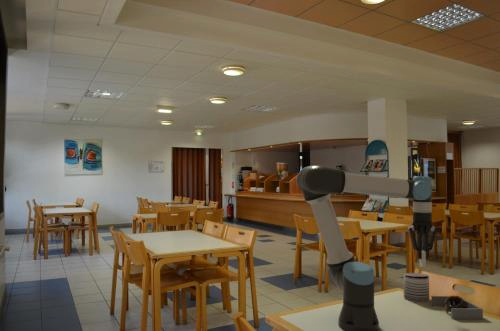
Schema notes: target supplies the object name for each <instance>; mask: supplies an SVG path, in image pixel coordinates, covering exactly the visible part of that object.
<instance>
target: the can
mask: <svg viewBox="0 0 500 331" xmlns="http://www.w3.org/2000/svg"><path fill="white" fill-rule="evenodd" d="M403 298H404V300H406V301H409V302H413V303H420V304H421V303H428V302H430V274H427V273H421V272H420V273H419V272H417V273H416V272H407V273H405V272H404V273H403Z"/></svg>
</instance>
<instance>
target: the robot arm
mask: <svg viewBox="0 0 500 331" xmlns="http://www.w3.org/2000/svg"><path fill="white" fill-rule="evenodd" d="M432 183H433V182H432V178H431V177H430V176H424V175H423V176H421V175H419V176H417V175H415V176H413V177H412V179H405V178H397V177H396V178H394V177H386V176H379V175H378V176H377V175H369V174H362V173H361V174H360V173H351V172H346V171H345V170H344V169H338V168H333V167H329V166H324V165H320V164H319V165H309V166H305V167H303V168H302V169H300V171H299V172H298V173H297V175H296V186H297V188H298V189H299V191H300V192H301V194H302V195H303V198H304V201H305V203H308V204H309V205H310V207H311V211H312V214H313V216H314V219H315V222H316V225H317V228H318V230H319V233H320V236H321V240H322V241H323V244H324V248H325V251H326V253H327V255H328V257H327V259H326V264H327V273H328V278H329V279H330V281H331V282H332V283H333V284H334V285H335V287H338V288H339V289H340V290H342V301H343V302H342V307H341V310H340V313H339V316H338V321H337V322H338V323H337V324H338V327H340V328H341V329H343V330H345V331H379V329H380V322H379V319H378V318H379V317H378V315H377V312H376V310H375V278H376V277H375V272H374V269H373V268H374V267H373V266H371V265H369V264H367V263H363V262H362V261H361V262H360V261H356V259H355V258H356V257H355V256H354V253H353V252H351V251H349V249H348V247H347V244H346V241H345V237H344V235H343V232H342V230H341V227H340V224H339V221H338V218H337V215H336V212H335V209H334V206H333V203H332V201H331V195H333V194H334V195H335V194H336V195H342V194H344V193H348V194H349V193H352V194H360V195H361V194H362V195H368V196H369V195H370V196H371V195H372V196H381V197H388V198H391V199H392V198H393V199H409V200H412V224H411V226H408V227H407V228H406V230H407V232H408V234H409V237H410V242H411V247H412V249H413V250H415V251H417V253H416V254H417V259H418V261H419V264H418V265H419V267H420V268H426V267H427V266H426V264H427V263H426V261H427V260H428V255H429V254H428V253H429V252H430V251H432V250H433V247H434V242H435V239H436V234H437V232H438V231H439V228H437V227H435V226H434V225H433V222H432V221H433V215H432V214H433V213H432V211H433V202H432V198H433V197H432V196H433V185H432ZM414 231H415V232H414ZM415 233H416V234H415ZM415 235H416V236H415Z"/></svg>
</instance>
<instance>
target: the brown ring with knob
mask: <svg viewBox="0 0 500 331" xmlns="http://www.w3.org/2000/svg"><path fill="white" fill-rule="evenodd" d="M449 296H450V297H448V298H447V299H446V300H445V306H444V310H445V313H446V314H448V313H451V308H468V303H467V302H466V301H465V300H466V299H465V300H463V299H464V298H463V297H462V296H459V295H449ZM462 298H463V299H462ZM457 300H459V301H457ZM448 301H449V302H450V304H451V306H450V305H448V304H447V303H448Z"/></svg>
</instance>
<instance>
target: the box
mask: <svg viewBox="0 0 500 331" xmlns="http://www.w3.org/2000/svg"><path fill="white" fill-rule="evenodd" d="M450 296H451V295H432V296H431V306H434V307H435V306H438V307H440V306H442V307H443V305H445V300H446V299H447V298H448V297H450ZM461 298H462V299H463V300H465V301H466V302H467V303H468V308H451V312H450V314H451V316H450V317H451V320H484V309H483V307H482V308H481V307H479V306H477V305H476V304H475V303H472V302H470V301H469V300H467V299H465V298H463V297H461ZM457 301H459V300H457ZM447 304H448V305H451V304H450V302H449V301H448V303H447Z"/></svg>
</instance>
